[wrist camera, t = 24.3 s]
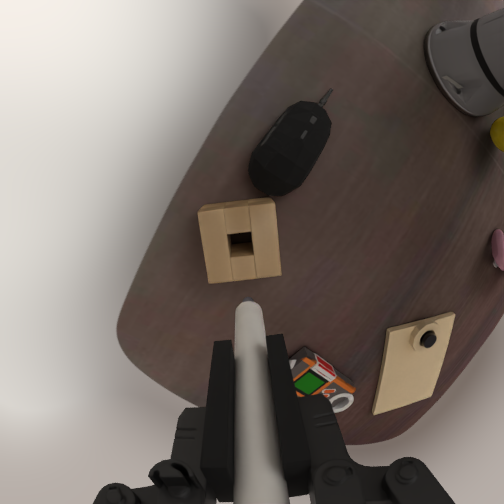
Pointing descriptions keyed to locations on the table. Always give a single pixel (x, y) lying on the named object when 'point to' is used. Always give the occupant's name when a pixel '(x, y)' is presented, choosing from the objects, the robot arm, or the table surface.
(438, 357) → the plate
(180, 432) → the robot arm
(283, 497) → the stylus
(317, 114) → the gaming mouse
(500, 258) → the video game controller
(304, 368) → the electronic device
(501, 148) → the fruit
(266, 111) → the table surface
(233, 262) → the pen stand
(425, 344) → the button
